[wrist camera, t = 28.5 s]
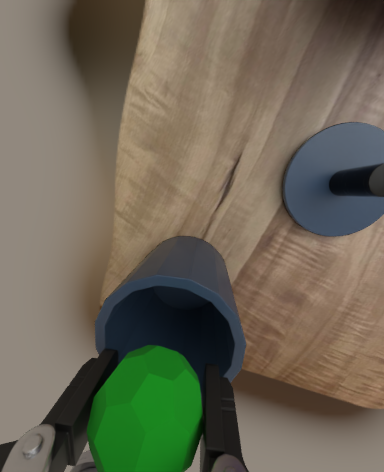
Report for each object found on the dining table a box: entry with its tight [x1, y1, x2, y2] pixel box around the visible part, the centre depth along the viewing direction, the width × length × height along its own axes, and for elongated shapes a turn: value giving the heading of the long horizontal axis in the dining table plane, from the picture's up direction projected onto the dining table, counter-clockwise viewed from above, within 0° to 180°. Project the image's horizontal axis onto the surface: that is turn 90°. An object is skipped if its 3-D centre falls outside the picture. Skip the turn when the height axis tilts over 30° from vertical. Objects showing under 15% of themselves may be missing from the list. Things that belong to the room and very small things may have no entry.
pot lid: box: [283, 122, 384, 236], centre depth 16 cm, size 10×10×6 cm
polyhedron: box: [87, 345, 203, 472], centre depth 9 cm, size 5×5×5 cm
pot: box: [95, 236, 246, 398], centre depth 17 cm, size 10×10×10 cm
